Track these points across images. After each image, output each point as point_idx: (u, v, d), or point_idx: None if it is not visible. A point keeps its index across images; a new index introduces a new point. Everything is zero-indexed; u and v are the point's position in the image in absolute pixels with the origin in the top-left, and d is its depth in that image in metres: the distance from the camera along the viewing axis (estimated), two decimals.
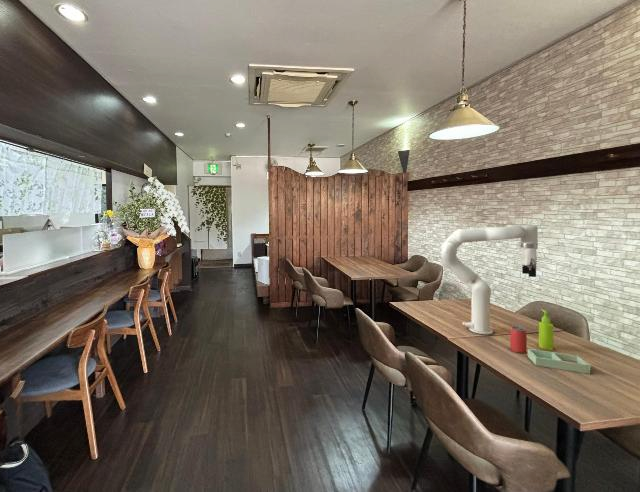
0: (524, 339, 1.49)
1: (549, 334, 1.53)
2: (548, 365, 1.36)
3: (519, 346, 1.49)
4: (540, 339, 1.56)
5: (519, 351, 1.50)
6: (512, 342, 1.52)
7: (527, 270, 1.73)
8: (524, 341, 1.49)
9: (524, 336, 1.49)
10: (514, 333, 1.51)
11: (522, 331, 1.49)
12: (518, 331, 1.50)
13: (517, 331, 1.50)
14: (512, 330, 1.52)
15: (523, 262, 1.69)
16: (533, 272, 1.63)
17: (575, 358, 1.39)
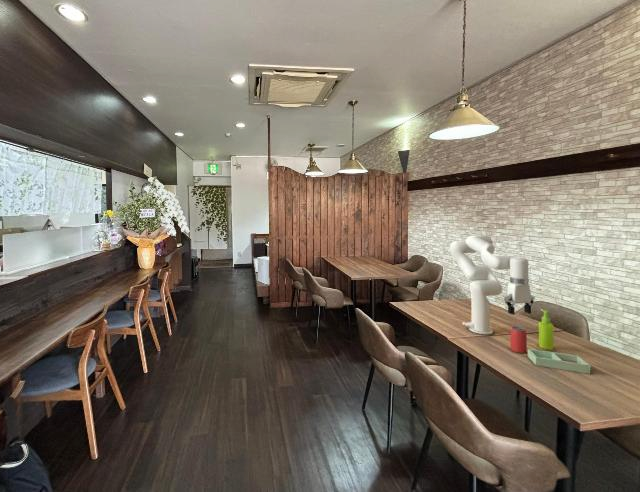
0: (524, 339, 1.49)
1: (549, 334, 1.53)
2: (548, 365, 1.36)
3: (519, 346, 1.49)
4: (540, 339, 1.56)
5: (519, 351, 1.50)
6: (512, 342, 1.52)
7: (528, 309, 1.52)
8: (524, 341, 1.49)
9: (524, 336, 1.49)
10: (514, 333, 1.51)
11: (522, 331, 1.49)
12: (518, 331, 1.50)
13: (517, 331, 1.50)
14: (512, 330, 1.52)
15: None
16: (509, 309, 1.51)
17: (575, 358, 1.39)
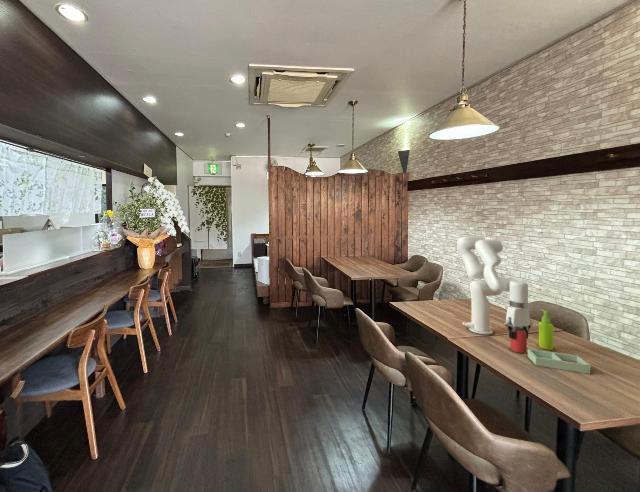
0: (524, 339, 1.49)
1: (549, 334, 1.53)
2: (548, 365, 1.36)
3: (519, 346, 1.49)
4: (540, 339, 1.56)
5: (519, 351, 1.50)
6: (512, 342, 1.52)
7: None
8: (524, 341, 1.49)
9: (524, 336, 1.49)
10: None
11: (522, 331, 1.49)
12: (518, 331, 1.50)
13: (517, 331, 1.50)
14: None
15: None
16: (510, 333, 1.51)
17: (575, 358, 1.39)
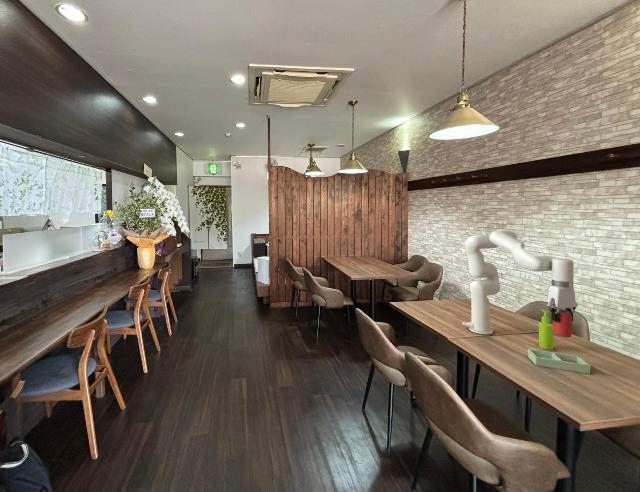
0: (569, 322, 1.35)
1: (549, 334, 1.53)
2: (548, 365, 1.36)
3: (564, 329, 1.36)
4: (540, 339, 1.56)
5: (564, 335, 1.36)
6: (555, 325, 1.38)
7: None
8: (569, 324, 1.35)
9: (569, 318, 1.35)
10: None
11: (567, 313, 1.35)
12: (562, 313, 1.36)
13: (561, 313, 1.36)
14: None
15: None
16: (553, 316, 1.37)
17: (575, 358, 1.39)
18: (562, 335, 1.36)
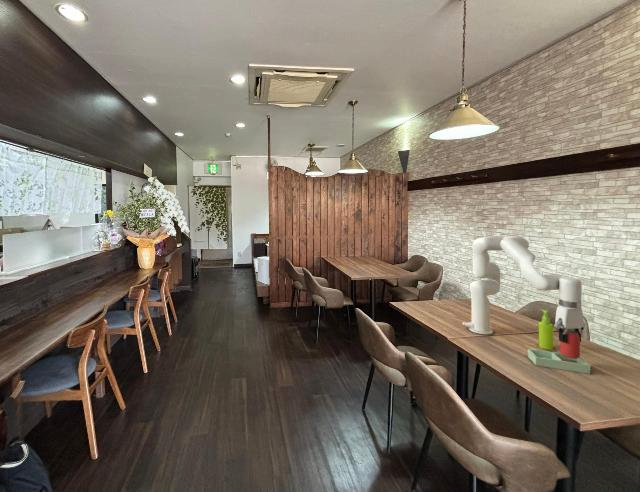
0: (577, 343, 1.33)
1: (549, 334, 1.53)
2: (548, 365, 1.36)
3: (572, 350, 1.33)
4: (540, 339, 1.56)
5: (572, 356, 1.34)
6: (563, 346, 1.36)
7: None
8: (577, 345, 1.33)
9: (577, 339, 1.33)
10: None
11: (575, 334, 1.33)
12: (570, 334, 1.34)
13: (569, 334, 1.34)
14: None
15: None
16: (561, 336, 1.35)
17: (575, 358, 1.39)
18: (570, 356, 1.34)
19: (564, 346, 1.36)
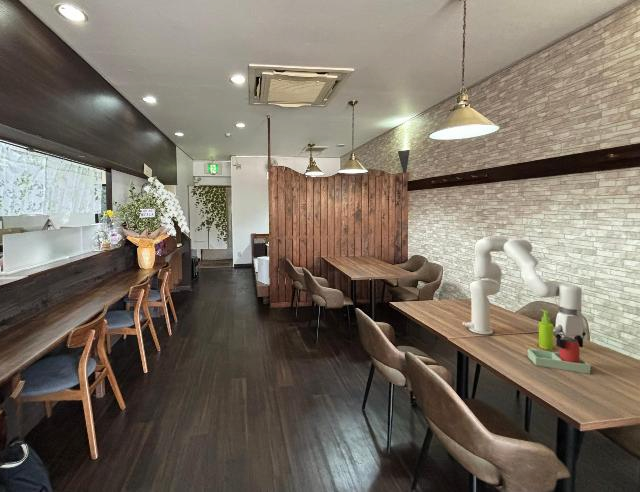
0: (577, 351, 1.33)
1: (549, 334, 1.53)
2: (548, 365, 1.36)
3: (571, 359, 1.34)
4: (540, 339, 1.56)
5: None
6: (562, 354, 1.36)
7: (579, 342, 1.36)
8: (577, 353, 1.33)
9: (577, 348, 1.33)
10: (565, 344, 1.35)
11: (575, 342, 1.34)
12: (570, 342, 1.34)
13: (569, 342, 1.34)
14: None
15: None
16: (559, 342, 1.35)
17: None
18: None
19: (564, 354, 1.36)
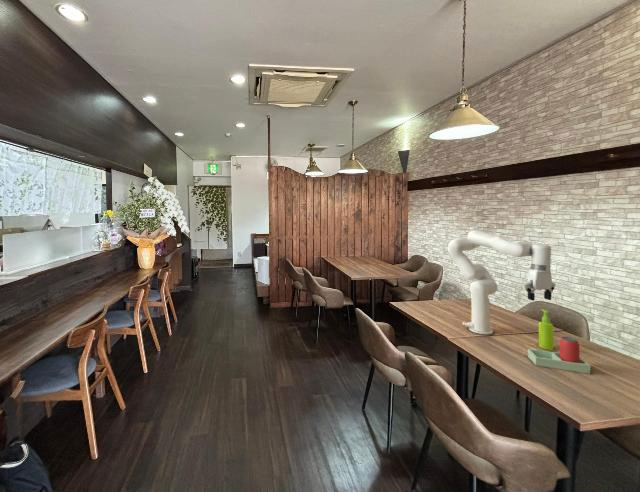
0: (577, 351, 1.33)
1: (549, 334, 1.53)
2: (548, 365, 1.36)
3: (571, 359, 1.34)
4: (540, 339, 1.56)
5: None
6: (562, 354, 1.36)
7: (548, 296, 1.52)
8: (577, 353, 1.33)
9: (577, 348, 1.33)
10: (565, 344, 1.35)
11: (575, 342, 1.34)
12: (570, 342, 1.34)
13: (569, 342, 1.34)
14: (562, 341, 1.37)
15: None
16: (529, 295, 1.51)
17: None
18: None
19: (564, 354, 1.36)
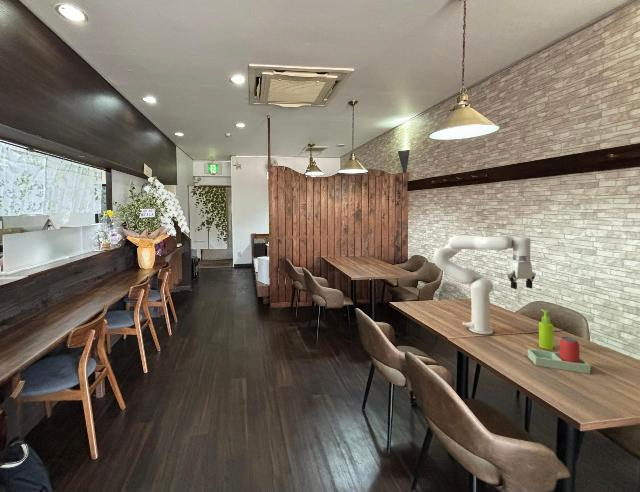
0: (577, 351, 1.33)
1: (549, 334, 1.53)
2: (548, 365, 1.36)
3: (571, 359, 1.34)
4: (540, 339, 1.56)
5: None
6: (562, 354, 1.36)
7: (529, 284, 1.64)
8: (577, 353, 1.33)
9: (577, 348, 1.33)
10: (565, 344, 1.35)
11: (575, 342, 1.34)
12: (570, 342, 1.34)
13: (569, 342, 1.34)
14: (562, 341, 1.37)
15: None
16: (512, 284, 1.63)
17: None
18: None
19: (564, 354, 1.36)
